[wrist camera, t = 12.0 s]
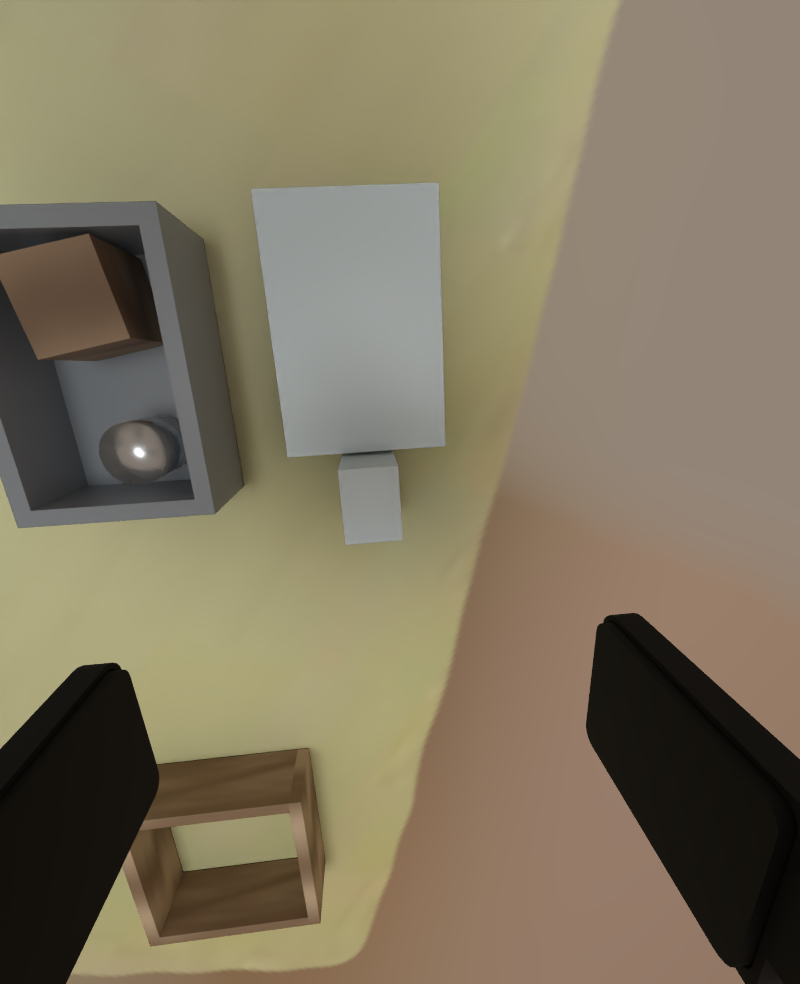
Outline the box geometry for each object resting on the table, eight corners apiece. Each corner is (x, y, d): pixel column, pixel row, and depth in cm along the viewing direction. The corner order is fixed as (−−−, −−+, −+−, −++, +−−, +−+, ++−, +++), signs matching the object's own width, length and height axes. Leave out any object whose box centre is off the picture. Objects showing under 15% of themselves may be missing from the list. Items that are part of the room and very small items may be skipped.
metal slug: (132, 416, 22) (91, 424, 19) (189, 413, 22) (158, 420, 19) (144, 470, 23) (107, 487, 20) (199, 466, 23) (172, 482, 20)
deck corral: (140, 766, 30) (107, 825, 26) (308, 748, 31) (300, 802, 27) (174, 880, 33) (150, 946, 30) (325, 861, 34) (320, 923, 30)
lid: (257, 198, 21) (228, 153, 16) (434, 192, 21) (451, 147, 17) (300, 520, 26) (287, 550, 21) (443, 508, 26) (458, 535, 22)
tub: (15, 244, 20) (-92, 207, 16) (203, 239, 21) (155, 200, 16) (86, 496, 24) (17, 528, 19) (243, 485, 25) (214, 514, 20)
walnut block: (60, 277, 20) (-11, 256, 16) (140, 258, 20) (88, 233, 16) (96, 361, 21) (38, 359, 18) (171, 343, 21) (130, 338, 18)
